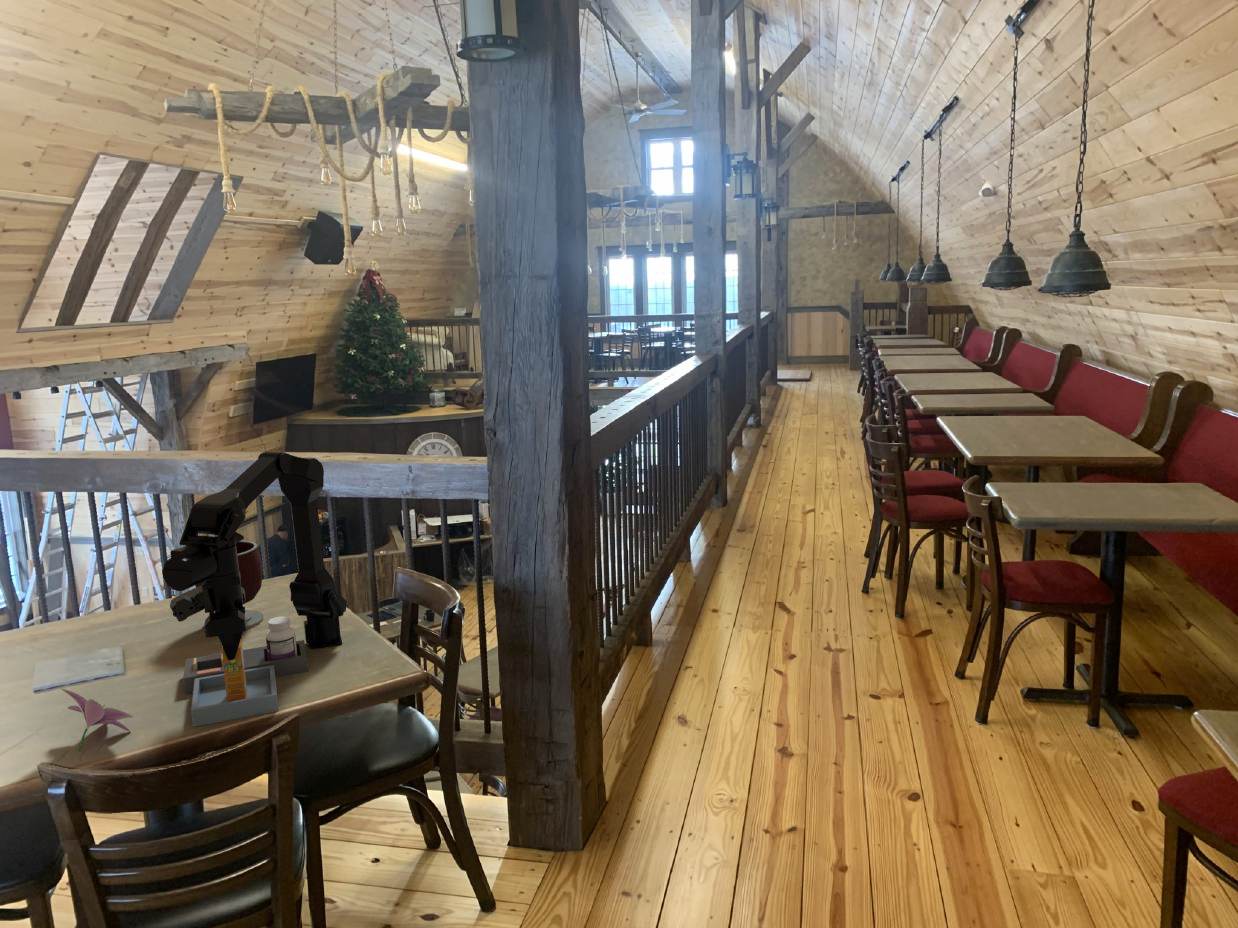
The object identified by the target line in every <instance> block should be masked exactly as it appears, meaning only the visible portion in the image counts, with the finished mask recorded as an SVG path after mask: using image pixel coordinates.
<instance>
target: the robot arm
mask: <svg viewBox="0 0 1238 928" xmlns="http://www.w3.org/2000/svg"><path fill="white" fill-rule="evenodd" d="M324 475H325V471H324V466H323V463H322V462H320V461H319V459H317V458H315V457H299V456H296V455H292V454H289V453H287V452H285V451H269V450H268V451H267V450H266V451H264V452H261V453H260V454H259V455H258V458H257V459H256V460H255V461H254V462H252V464H250V466H248V468H246V469H245V470H244V471H243V472H242V473H241V474H240V475H239V476H237V477H236V478H235V480H233V481H232V482H231V483H230V484H229V485H228V486H227V487H225V488H224V489H222V490H221V491H219V492H215V493H212V494H209V495H207V496H205V497H204V498H202V499H200V500H198V501H196V502H195V503H194V505H193V506H192V507H191V509H190V513H189V515H188V518H187V521H186V524H185V525H184V526H185V527H184V529H183V531H182V534H181V537H180V540H179V545H180V546H182V547H180V548H174V549H172V550H170V552H169V553H170V557H169V558H168V559H166V560H165V562H164V564H163V569H162V570H161V573H162V578H163V580H164V582H165V584H166V585H167V586H168V587H169V588H170V589H172V590H173V591H177V592H182V591H183V593H182V594H179V595H177V596H174V597H173V598H172V599H171V600H170V602H169V608H170V610H171V611H172V616H173V617H175V618H176V620H177V621H178V622H179V623H180V622H183V621H185V620H187V619H188V618H189V617H191V616H193V615H195V614H197V613H200V612H201V611H203V610H204V614H207V613H208V616H207V617H206V619H205V621H204V623H205V629H204V634H205V638H209V639H210V638H216V637H217V638H218V639H219V642H220V644H221V648H222V647H223V649H224V652H225V654H226V657H227V659H228V660H234V659H235V656H236V653H237V650H238V647H239V643H240V641H242V637H243V634H244V633H245V632H246V631H247V629H246V622H245V610H246V607H245V606H244V604H243V603H245V592H244V588H242V587H241V582H240V571H239V565H238V556H237V548H236V543H237V542H239V541H244V538H245V537H244V535H242V534H241V533H239V532H238V531H237V530H238V528H239V527H240V526H241V525H242V524H243V522H244V521H245V520H246V517H247V515H246V512H247V511H246V510H247V509H248V508H249V506H250V505H251V504H252V503H253V502H254V501H256V499H257V498H258V497H259V496H260V495H261V494H262V493H263V492H265V490H267V488H268V487H269V488H270V486H271V484H273V483H274V482H275V481H276V480H278V483H279V487H280V488H279V489H280V491H281V493H282V494H283V495H284V497H285V498H286V499H287V501H288V502H289V503H290V508H291V509H290V510H291V516H292V517H291V518H292V524H293V533H294V543H295V551H296V560H297V566H298V567H297V568H298V572H297V574H296V576H295V578H294V580H293V581H290V583H289V585H288V586H289V591H290V602H292V604H293V605H292V606H293V607H294V609H295V611H296V613H297V616H299V617H301V616H302V617H305V618H306V620H304V621H303V627H304V628H303V629H304V638H305V639H304V640H305V643H306V644H307V645H308V647H309V648H308V649H310V650H314V649H318V648H319V649H320V648H323V647H332V646H337V645H341V644H343V639H342V635H341V625H340V617H343V616H344V613H345V612H346V611H347V602H348V601H347V600H346V599H345V598H344V597H343V596H342V595H340V593H339V592H337V587H336V584H335V579H334V578H333V576H332V574H330V573H329V571H328V570H327V569H326V567H325V564H324V563H325V561H324V553H323V544H322V536H321V535H322V534H321V527H320V517H319V515H320V514H319V507H318V498H319V496H320V494H321V493H322V490H323V488H324V485H325V483H324V477H325V476H324ZM198 534H200V535H198ZM207 534H210V535H214V536H215V537H214V536H207ZM201 582H203V584H202V586H199V587H197V588H196V586H195V585H197V584H199V583H201ZM192 587H194V588H192ZM190 588H192V589H190ZM188 589H190V590H188ZM186 590H187V591H186ZM184 591H186V592H184ZM245 604H246V603H245Z"/></svg>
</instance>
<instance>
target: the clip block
mask: <svg viewBox="0 0 1238 928" xmlns="http://www.w3.org/2000/svg"><path fill="white" fill-rule="evenodd" d="M305 643H306V642H305V639H302V640H296V647H297V656H296V657H290V658H284V659H278V660H272V661H268V653H267V645H266V646H259V647H252V648H247V649H243V659H244V668H245V670H248V669H254V668H260V667H266V666H271V665H274V669H275V678H279V677H286V676H291V675H296V674H302V673H308V672H309V664H308V663H309V662H308V656H307V649H306V644H305ZM219 674H224V667H223V657H222V653H216V654H210V655H209V654H208V655H205V656H199V657H191V658H186V659H185V664H184V669H183V677H182V678H183V686H184V694H190V693H193V690H194V681H195V679H196V678H202V677H207V676H213V675H219Z"/></svg>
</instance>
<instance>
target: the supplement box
mask: <svg viewBox="0 0 1238 928" xmlns="http://www.w3.org/2000/svg"><path fill="white" fill-rule="evenodd" d="M243 650H244V649H243V642H242V640H240V643H239V647H238V650H237V653H236V656H235V659H234V660H228V659H227V657H226V654H225V652H224V649H223V647H222V646H221V654H222V657H223V667H224V677H225V686H226V695H227V701H233V700H239V699H245V698H246V694H247V686H246V678H245V668H244V659H243Z"/></svg>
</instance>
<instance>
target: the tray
mask: <svg viewBox="0 0 1238 928" xmlns="http://www.w3.org/2000/svg"><path fill="white" fill-rule="evenodd" d="M245 678H246V686H247V694H246V698H245V699H239V700H233V701H227V695H226V686H225V677H224V674H219V675H213V676H207V677H202V678H196V679H195V681H194V690H193V692H192V700H191V708H190V709H191V710H190V712H191V720H192V728H193V727H200V726H205V725H209V724H210V725H211V724H216V723H222V722H226V721H232V720H236V719H242V718H246V717H247V718H248V717H252V716H253V717H254V716H258V715H264V714H268V713H269V714H270V713H274V712H279V704H278V703H279V702H278V690H277V681H276V679H277V678H276V677H275V669H274V665H271V666H266V667H260V668H254V669H248V670H245Z"/></svg>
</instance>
